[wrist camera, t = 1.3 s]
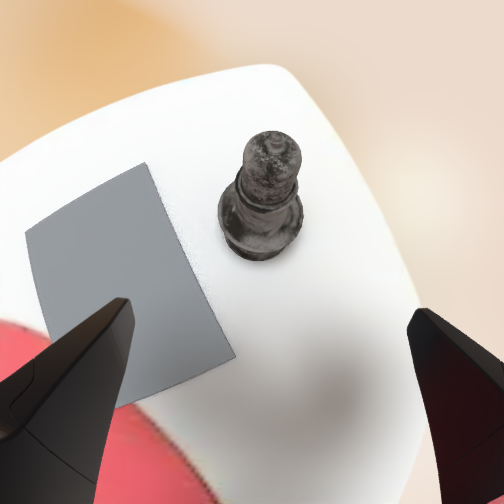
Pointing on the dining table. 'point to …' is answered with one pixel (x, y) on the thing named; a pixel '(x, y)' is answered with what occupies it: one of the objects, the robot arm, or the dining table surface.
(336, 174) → the dining table surface
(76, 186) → the dining table surface
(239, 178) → the dark grey chess piece
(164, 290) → the mat
